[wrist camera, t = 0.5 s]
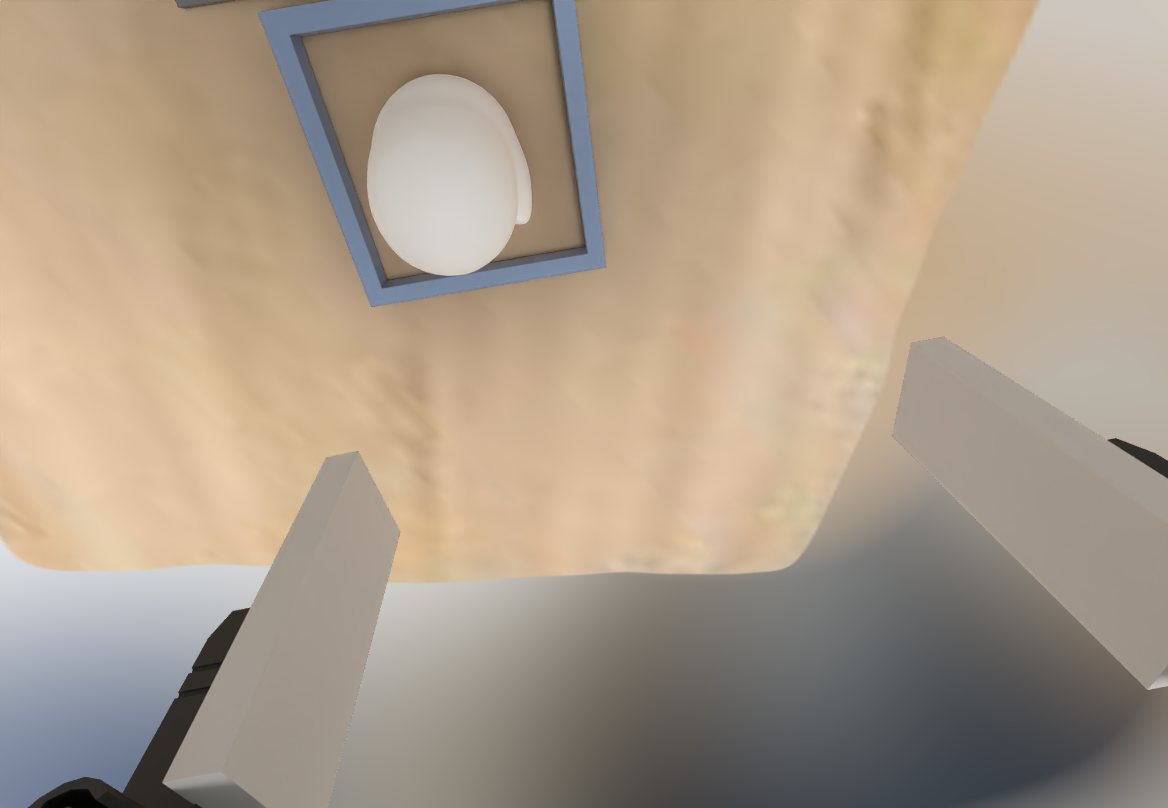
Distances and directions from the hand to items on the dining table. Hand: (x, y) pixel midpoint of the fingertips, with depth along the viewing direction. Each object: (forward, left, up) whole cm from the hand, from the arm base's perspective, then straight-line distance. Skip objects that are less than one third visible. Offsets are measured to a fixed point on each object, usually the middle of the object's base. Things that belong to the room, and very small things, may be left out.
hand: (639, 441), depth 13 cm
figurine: (-5, -6, -23) cm, 24 cm away
